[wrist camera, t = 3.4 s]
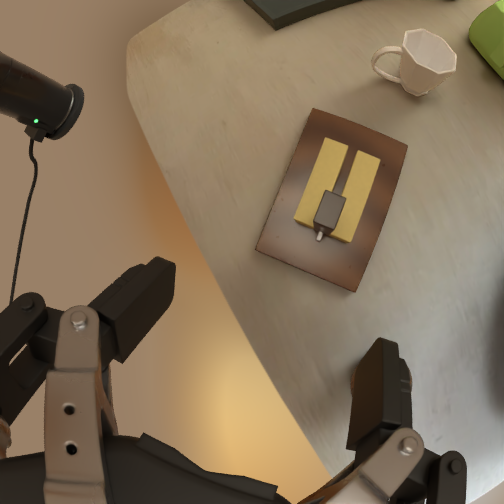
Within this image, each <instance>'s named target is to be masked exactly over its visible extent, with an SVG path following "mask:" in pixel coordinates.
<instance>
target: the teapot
mask: <svg viewBox="0 0 504 504" xmlns="http://www.w3.org/2000/svg"><path fill="white" fill-rule="evenodd" d="M469 39H470V41H471V42H472V44H473V45H474V46H475V48H476V49H477V50H478V51H479V52H480V54H481V55H482V56H483V57H484V58H485V60H486V61H487V62H488V63H489V64H490V66H491V67H492V68H493V69H494V70H495V71H496V72H497V73H498V74H499V76H500V77H501V78H502V79H503V80H504V0H500V1H498V2H496V3H494V4H493V5H491V6H490V7H488V8H487V9H486V10H484V11H483V12H482V13H481V14H480V15H478V16H477V18H476V19H475V20H474V21H473V23H472V24H471V26H470V28H469Z"/></svg>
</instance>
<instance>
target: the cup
mask: <svg viewBox="0 0 504 504" xmlns="http://www.w3.org/2000/svg"><path fill="white" fill-rule="evenodd" d="M386 53H395V54H399V55H401V62H400V78H398V77H394V76H391V75H389V74H387V73H385V72H383V71H382V70H380V69H378V68H377V67H376V66H375V63H376V61H377V60H378V58H379V57H380V56H382V55H384V54H386ZM456 59H457V55H456V54H455V53H454V51H453V50H452V49H451V47H450V46H449V45H448V44H447V42H446V41H445V40H444V39H443V38H441V37H439V36H437V35H435V34H433V33H431V32H429V31H427V30H425V29H415V30H409V31H405V36H404V40H403V44H402V48H401V47H395V46H388V47H383V48H381V49H379V50H377V51H376V53H375V54H374V55H373V57H372V60H371V63H372V67H373V70H374V71H375V72H376V73H377V74H378V75H380V76H382V77H384V78H385V79H387V80H389V81H392V82H395V83H400V84H401V85H402V87H403V88H404V90H405V91H406V92H408V93H410V94H412V95H415V96H417V97H418V96H422V95H425V94H427V92H428V91H430V90H431V89H433V88H435V87H437V86H438V85H439V84H441V83H442V82H443V81H444V80H445V79H446V78H447V77H449V76H450V75H451V74H452V73H453V72H455V71H456Z"/></svg>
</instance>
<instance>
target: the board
mask: <svg viewBox="0 0 504 504" xmlns="http://www.w3.org/2000/svg"><path fill="white" fill-rule="evenodd" d="M325 137H326V138H329V139H332V140H334V141H337V142H340V143H342V144H345V145H347V146H348V150H347V153H346V157H345V159H344V162H343V165H342V168H341V170H340V173H339V176H338V178H337V181H336V184H335V186H334V189H333V193H336V194H338V195H340V196H341V194H342V191H343V189H344V186H345V183H346V180H347V178H348V175H349V172H350V169H351V167H352V164H353V161H354V158H355V156H356V153H357V151H358V150H359V151H362V152H364V153H367V154H369V155H371V156H374V157H376V158H378V159H380V163H379V166H378V169H377V172H376V175H375V178H374V181H373V184H372V187H371V190H370V193H369V196H368V198H367V201H366V204H365V207H364V209H363V212H362V215H361V217H360V220H359V223H358V225H357V228H356V231H355V233H354V236H353V238H352V241H351V243H345V242H342V241H340V240H338V239H335V238H333V237H331V236H328V235H326V234H324V233H323V235H322V238H321V240H320V242H318V241H316V239H317V236H318V234H319V231H317V230H314V229H312V228H309V227H307V226H305V225H302V224H300V223H297V222H296V221H295V220H294V219H293V218H294V216H295V213H296V211H297V208H298V206H299V203H300V201H301V198H302V196H303V193H304V191H305V188H306V186H307V183H308V181H309V178H310V175H311V173H312V170H313V168H314V165H315V163H316V160H317V158H318V155H319V152H320V150H321V147H322V145H323V142H324V139H325ZM407 148H408V145H406V144H404V143H402V142H399V141H397V140H395V139H393V138H391V137H388V136H386V135H384V134H381V133H379V132H377V131H374V130H372V129H370V128H367V127H365V126H362V125H360V124H357V123H354V122H352V121H349V120H346V119H344V118H341V117H338V116H335V115H333V114H330V113H327V112H324V111H321V110H318V109H315V108H312V111H311V113H310V116H309V118H308V121H307V123H306V125H305V128H304V130H303V133H302V135H301V138H300V140H299V143H298V145H297V148H296V150H295V153H294V155H293V158H292V160H291V162H290V165H289V167H288V170H287V172H286V175H285V177H284V180H283V182H282V185H281V187H280V189H279V192H278V194H277V197H276V199H275V202H274V204H273V207H272V209H271V212H270V214H269V216H268V219H267V221H266V224H265V226H264V229H263V231H262V234H261V236H260V239H259V241H258V243H257V246H256V248H255V250H257V251H259V252H261V253H264V254H266V255H268V256H271V257H273V258H275V259H278V260H280V261H282V262H285V263H287V264H289V265H292V266H294V267H296V268H299V269H301V270H303V271H306V272H308V273H310V274H313V275H315V276H317V277H320V278H322V279H324V280H327V281H329V282H331V283H334V284H336V285H338V286H341V287H343V288H345V289H348V290H350V291H352V292H356V290H357V288H358V286H359V283H360V281H361V279H362V276H363V274H364V272H365V269H366V267H367V264H368V262H369V260H370V257H371V255H372V252H373V250H374V247H375V244H376V242H377V239H378V237H379V234H380V231H381V229H382V226H383V223H384V220H385V218H386V215H387V212H388V209H389V206H390V203H391V200H392V197H393V194H394V191H395V188H396V185H397V182H398V179H399V176H400V172H401V169H402V166H403V162H404V159H405V155H406V152H407Z"/></svg>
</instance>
